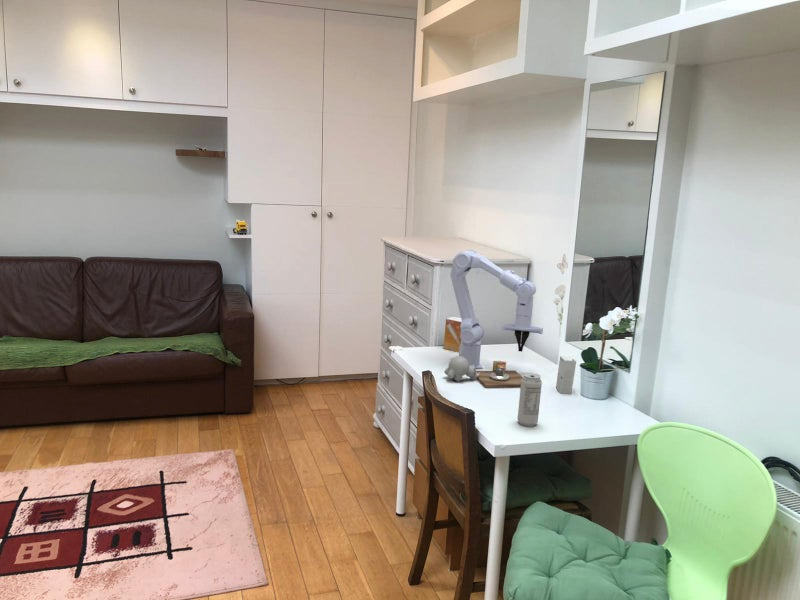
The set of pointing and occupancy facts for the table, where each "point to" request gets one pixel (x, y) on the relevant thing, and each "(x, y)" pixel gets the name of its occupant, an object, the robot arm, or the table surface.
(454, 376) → the chubby cartoon animal
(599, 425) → the table surface
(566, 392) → the skincare box
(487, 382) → the walnut board
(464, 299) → the robot arm
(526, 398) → the energy drink can
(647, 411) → the table surface
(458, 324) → the small box
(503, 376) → the dial plate
